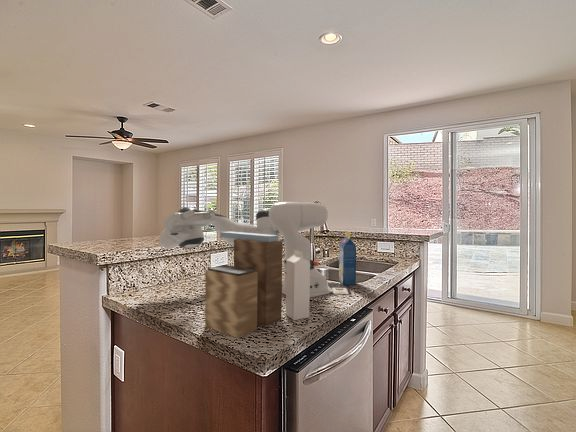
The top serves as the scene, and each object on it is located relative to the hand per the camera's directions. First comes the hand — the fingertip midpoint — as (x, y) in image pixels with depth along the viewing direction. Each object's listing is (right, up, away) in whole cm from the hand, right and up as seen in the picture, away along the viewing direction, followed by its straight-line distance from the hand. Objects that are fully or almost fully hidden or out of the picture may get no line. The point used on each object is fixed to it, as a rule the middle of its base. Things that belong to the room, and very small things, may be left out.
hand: (203, 210), depth 122 cm
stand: (+23, -36, -18) cm, 46 cm away
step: (+16, -36, -27) cm, 47 cm away
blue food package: (+62, -35, +32) cm, 78 cm away
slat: (+19, -10, -16) cm, 27 cm away
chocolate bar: (+56, -36, +20) cm, 70 cm away
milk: (+36, -36, -15) cm, 53 cm away
